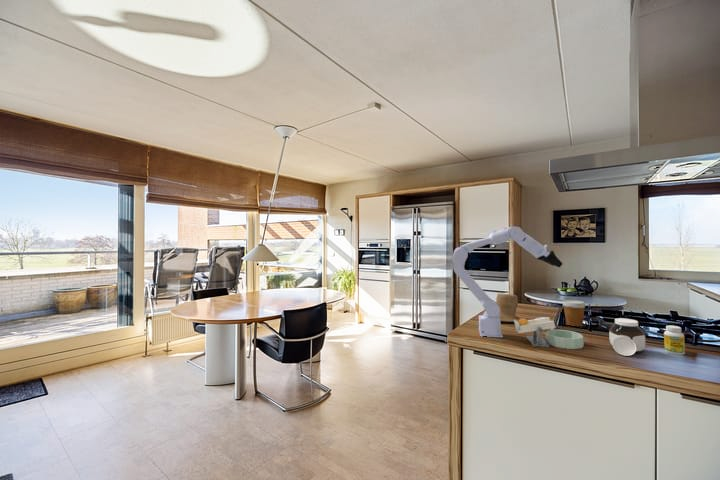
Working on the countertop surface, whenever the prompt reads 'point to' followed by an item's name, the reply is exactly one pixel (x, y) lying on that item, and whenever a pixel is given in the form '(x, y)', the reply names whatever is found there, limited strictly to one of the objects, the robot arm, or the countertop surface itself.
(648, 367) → the countertop surface
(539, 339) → the launcher stand
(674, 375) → the countertop surface
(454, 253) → the robot arm
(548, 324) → the tipping trough
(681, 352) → the supplement bottle
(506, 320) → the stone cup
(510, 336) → the countertop surface
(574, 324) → the disposable coffee cup
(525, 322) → the ball
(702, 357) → the countertop surface
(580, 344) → the green round bowl
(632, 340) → the spread jar
